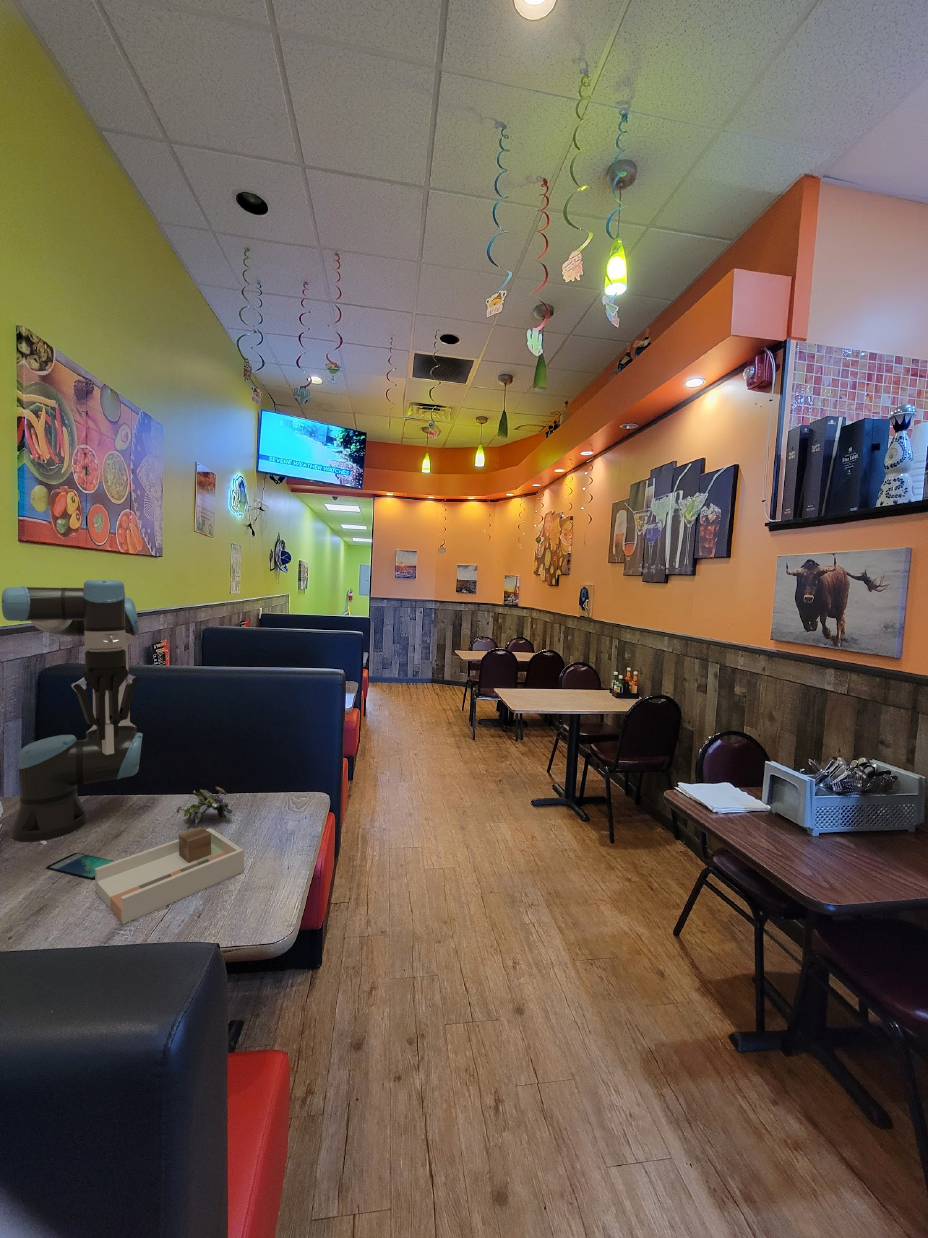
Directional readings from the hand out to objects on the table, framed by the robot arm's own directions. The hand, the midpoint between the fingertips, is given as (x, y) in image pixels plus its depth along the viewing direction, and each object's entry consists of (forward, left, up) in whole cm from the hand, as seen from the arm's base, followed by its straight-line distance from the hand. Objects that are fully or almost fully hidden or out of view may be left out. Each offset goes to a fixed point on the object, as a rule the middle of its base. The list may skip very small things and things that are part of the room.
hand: (108, 752), depth 117 cm
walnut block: (+14, +13, -24) cm, 31 cm away
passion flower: (-5, +24, -27) cm, 36 cm away
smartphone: (-4, -4, -27) cm, 28 cm away
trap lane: (+17, +7, -26) cm, 32 cm away
